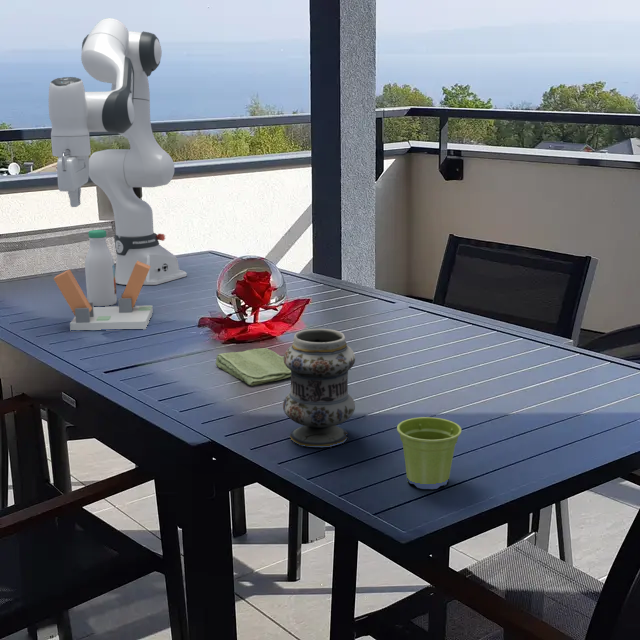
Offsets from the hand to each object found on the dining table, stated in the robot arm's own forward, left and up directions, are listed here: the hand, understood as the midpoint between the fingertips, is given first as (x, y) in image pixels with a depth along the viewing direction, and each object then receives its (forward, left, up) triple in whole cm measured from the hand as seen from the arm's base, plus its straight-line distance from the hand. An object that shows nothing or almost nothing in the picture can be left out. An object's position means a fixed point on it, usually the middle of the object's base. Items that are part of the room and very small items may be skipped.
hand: (75, 206), depth 219 cm
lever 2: (-10, +4, -26) cm, 28 cm away
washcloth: (-2, +61, -30) cm, 68 cm away
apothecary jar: (+16, +95, -29) cm, 101 cm away
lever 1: (+3, +4, -26) cm, 26 cm away
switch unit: (-5, +5, -29) cm, 30 cm away
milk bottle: (-14, -13, -29) cm, 35 cm away
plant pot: (+18, +119, -29) cm, 124 cm away
